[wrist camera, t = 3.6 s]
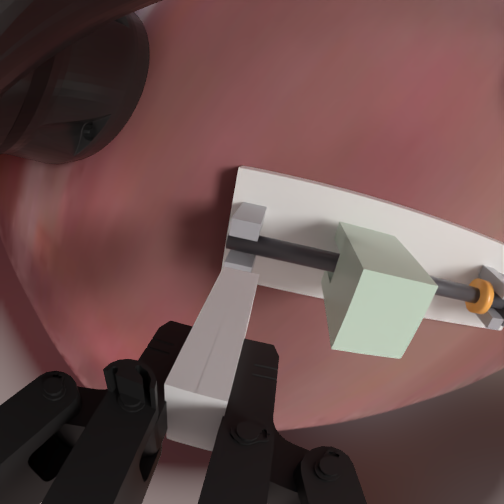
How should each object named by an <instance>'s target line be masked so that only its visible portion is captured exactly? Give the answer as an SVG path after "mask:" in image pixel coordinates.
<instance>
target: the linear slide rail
mask: <svg viewBox="0 0 504 504" xmlns="http://www.w3.org/2000/svg"><path fill="white" fill-rule="evenodd" d="M339 221H340V222H344V223H348V224H352V225H356V226H359V227H363V228H367V229H371V230H375V231H378V232H382V233H386V234H389V235H393V236H395V237H396V238H397V239H398V240H399V241H400V242H401V243H402V245H403V246H404V247H405V248H406V249H407V250H408V251H409V252H410V253H411V255H412V256H413V257H414V258H415V259H416V260H417V261H418V263H419V264H420V265H421V266H422V267H423V268H424V270H425V271H426V272H427V273H428V274H429V276H430V277H431V278H432V279H433V280H434V282H435V283H436V284H437V285H438V288H437V290H436V293H435V295H434V297H433V299H432V301H431V303H430V305H429V307H428V309H427V311H426V313H425V315H424V317H423V318H427V319H433V320H439V321H445V322H451V323H457V324H463V325H469V326H475V327H482V328H487V329H493V330H502V328H503V326H504V243H503V242H501V241H499V240H496V239H494V238H491V237H489V236H487V235H484V234H482V233H479V232H476V231H474V230H471V229H469V228H466V227H463V226H461V225H458V224H455V223H453V222H450V221H447V220H444V219H442V218H439V217H436V216H433V215H430V214H427V213H424V212H421V211H418V210H415V209H412V208H409V207H406V206H403V205H399V204H396V203H393V202H390V201H386V200H383V199H380V198H376V197H373V196H370V195H366V194H362V193H359V192H355V191H352V190H348V189H344V188H340V187H337V186H333V185H329V184H325V183H321V182H317V181H313V180H309V179H304V178H300V177H296V176H291V175H287V174H282V173H278V172H273V171H268V170H264V169H259V168H254V167H249V166H243V165H242V166H240V167H239V168H238V174H237V179H236V185H235V190H234V196H233V202H232V208H231V214H230V220H229V226H228V232H227V238H226V244H225V250H224V256H223V262H222V268H223V267H229V268H233V269H237V270H242V271H246V272H250V273H255V274H259V279H258V283H257V285H262V286H266V287H271V288H275V289H280V290H285V291H289V292H294V293H298V294H303V295H308V296H313V297H317V298H322V299H324V297H323V291H322V285H321V281H322V277H323V274H324V271H329V272H334V271H335V268H336V265H337V262H338V259H339V256H340V252H339V249H338V247H337V244H336V242H335V235H336V232H337V228H338V225H339ZM221 270H222V269H221Z"/></svg>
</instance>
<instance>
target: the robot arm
mask: <svg viewBox="0 0 504 504" xmlns="http://www.w3.org/2000/svg"><path fill="white" fill-rule="evenodd" d="M159 1H162V0H0V154H3V153H5V154H9V155H13V156H18V157H22V158H26V159H30V160H35V161H39V162H43V163H48V164H61V163H66V162H71V161H76V160H80V159H84V158H86V157H89V156H91V155H93V154H95V153H96V152H98V151H100V150H101V149H102V148H104V147H105V146H106V145H107V144H108V143H110V142H111V141H112V140H113V139H114V138H115V137H116V136H117V134H118V133H119V132H120V131H121V130H122V128H123V127H124V126H125V124H126V123H127V121H128V120H129V118H130V117H131V115H132V113H133V111H134V109H135V108H136V105H137V103H138V101H139V99H140V96H141V94H142V91H143V88H144V85H145V82H146V77H147V73H148V66H149V42H148V37H147V33H146V30H145V28H144V26H143V24H142V22H141V20H140V19H139V17H138V16H137V15H136V14H135V13H134V12H135V11H137V10H139V9H142V8H144V7H146V6H149V5H151V4H154V3H157V2H159ZM258 279H259V274H255V273H250V272H246V271H242V270H237V269H233V268H229V267H223V268H222V270H221V272H220V274H219V276H218V278H217V280H216V282H215V284H214V286H213V288H212V290H211V292H210V294H209V296H208V298H207V300H206V302H205V304H204V305H203V307H202V309H201V311H200V313H199V315H198V317H197V319H196V321H195V323H194V325H193V327H192V326H188V325H185V324H181V323H177V322H174V321H169V322H168V323H166V324H164V325H163V326H161V327H160V328H159V329H158V330H157V332H156V333H155V335H154V337H153V339H152V340H151V341H150V343H149V344H148V347H147V348H146V349H145V351H144V352H143V354H142V355H141V357H140V358H139V360H138V361H137V360H132V359H123V360H117V361H115V362H112V363H110V364H109V365H108V366H107V367H105V368H104V369H103V371H104V375H105V380H106V384H107V388H108V389H106V390H98V389H91V388H83V387H78V386H77V385H76V382H75V381H74V380H73V378H72V377H71V376H69V375H68V374H66V373H64V372H59V371H52V372H46V373H44V374H42V375H40V376H39V377H38V378H36V379H35V380H34V381H32V382H31V383H29V384H28V385H27V386H25V387H24V388H23V389H22V390H20V391H19V392H17V393H16V394H15V395H14V396H12V397H11V398H10V399H8V400H7V401H6V402H4V403H3V404H2V405H0V504H40V503H41V502H42V503H41V504H142V502H143V499H144V496H145V494H146V491H147V489H148V486H149V484H150V481H151V478H152V476H153V473H154V471H155V468H156V466H157V463H158V461H159V458H160V456H161V451H162V441H163V439H164V436H165V434H166V433H167V438H168V439H171V440H174V441H177V442H180V443H184V444H187V445H191V446H195V447H198V448H202V449H205V450H209V451H212V455H211V458H210V462H209V466H208V469H207V473H206V476H205V480H204V483H203V487H202V491H201V495H200V498H199V501H198V504H367V503H366V500H365V497H364V494H363V491H362V488H361V485H360V482H359V480H358V477H357V474H356V471H355V468H354V465H353V463H352V461H351V460H350V458H349V457H348V456H347V455H346V454H345V453H344V452H342V451H341V450H339V449H336V448H333V447H325V446H321V447H318V448H314V449H312V450H311V451H309V450H306V449H304V448H302V447H299V446H297V445H294V444H292V443H290V442H288V441H287V440H285V439H284V438H283V437H282V436H281V435H279V433H278V432H277V430H276V428H275V426H274V423H273V413H274V403H275V393H276V383H277V381H276V380H277V373H278V371H277V370H278V362H279V356H278V353H277V351H276V349H275V347H274V345H271V344H266V343H262V342H257V341H252V340H248V339H245V336H246V331H247V327H248V323H249V319H250V314H251V310H252V305H253V301H254V297H255V292H256V288H257V283H258Z"/></svg>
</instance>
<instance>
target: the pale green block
mask: <svg viewBox="0 0 504 504" xmlns="http://www.w3.org/2000/svg"><path fill="white" fill-rule="evenodd" d="M335 242H336V244H337V247H338V249H339V252H340V256H339V259H338V262H337V265H336V268H335V271H334V272H329V271H324V274H323V277H322V281H321V285H322V291H323V297H324V303H325V309H326V316H327V322H328V329H329V336H330V344H331V349H335V350H341V351H347V352H354V353H361V354H368V355H375V356H383V357H391V358H399V359H401V357H402V355H403V354H404V352H405V350H406V349H407V347H408V345H409V343H410V342H411V340H412V338H413V336H414V334H415V332H416V331H417V329H418V327H419V325H420V323H421V321H422V319H423V317H424V315H425V313H426V311H427V309H428V307H429V305H430V303H431V301H432V299H433V297H434V295H435V293H436V290H437V288H438V285H437V284H436V283H435V282H434V280H433V279H432V278H431V277H430V276H429V274H428V273H427V272H426V271H425V270H424V268H423V267H422V266H421V265H420V264H419V263H418V261H417V260H416V259H415V258H414V257H413V256H412V255H411V253H410V252H409V251H408V250H407V249H406V248H405V247H404V246H403V245H402V243H401V242H400V241H399V240H398V239H397V238H396V237H395V236H393V235H389V234H386V233H382V232H378V231H375V230H371V229H367V228H363V227H359V226H356V225H352V224H348V223H344V222H340V221H339V225H338V228H337V232H336V235H335Z"/></svg>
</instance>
